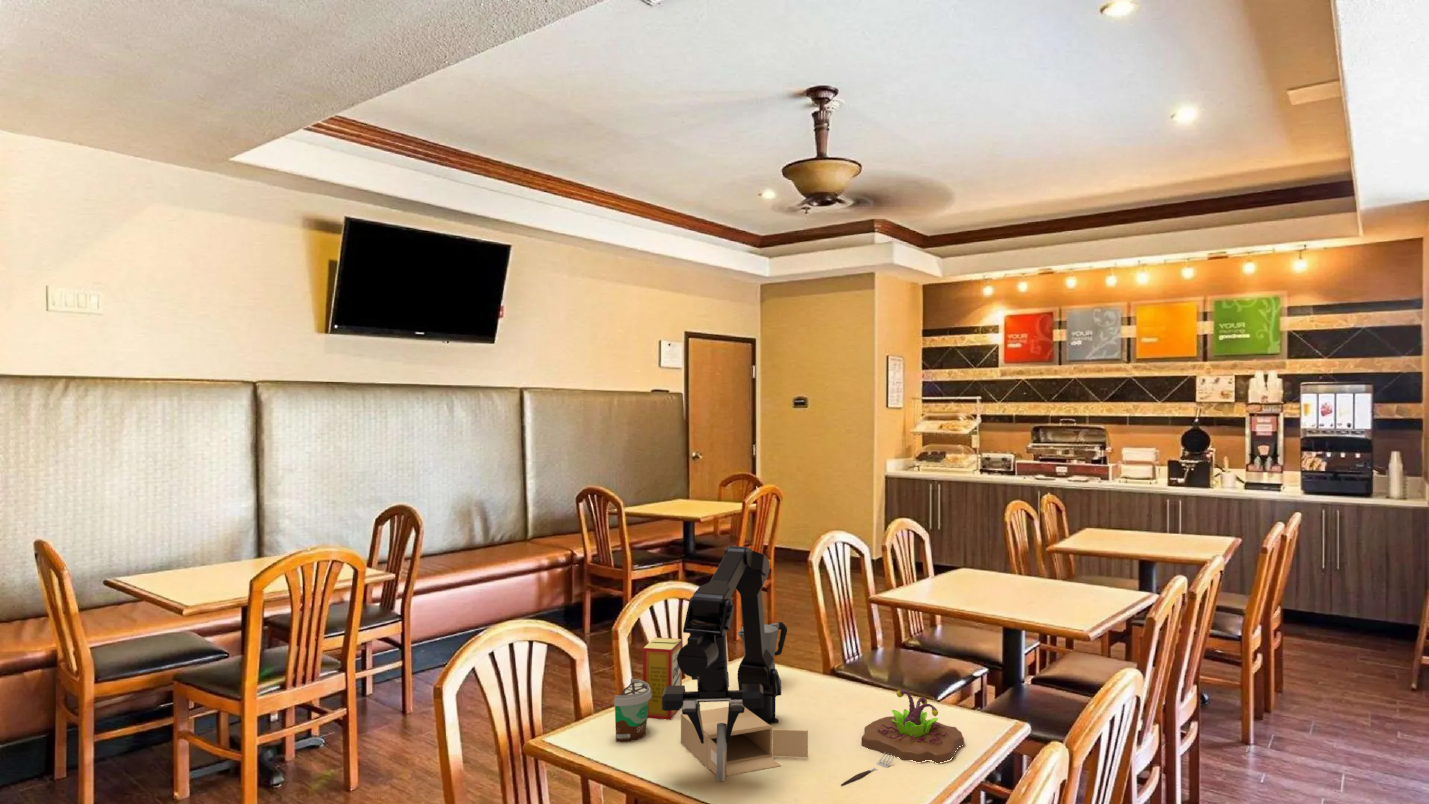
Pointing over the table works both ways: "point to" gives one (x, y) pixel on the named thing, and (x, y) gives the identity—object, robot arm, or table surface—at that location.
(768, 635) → the coffeepot
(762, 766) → the carton
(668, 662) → the baking soda box
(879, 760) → the fork
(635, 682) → the food container
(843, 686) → the table surface
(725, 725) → the flap
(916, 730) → the plant
